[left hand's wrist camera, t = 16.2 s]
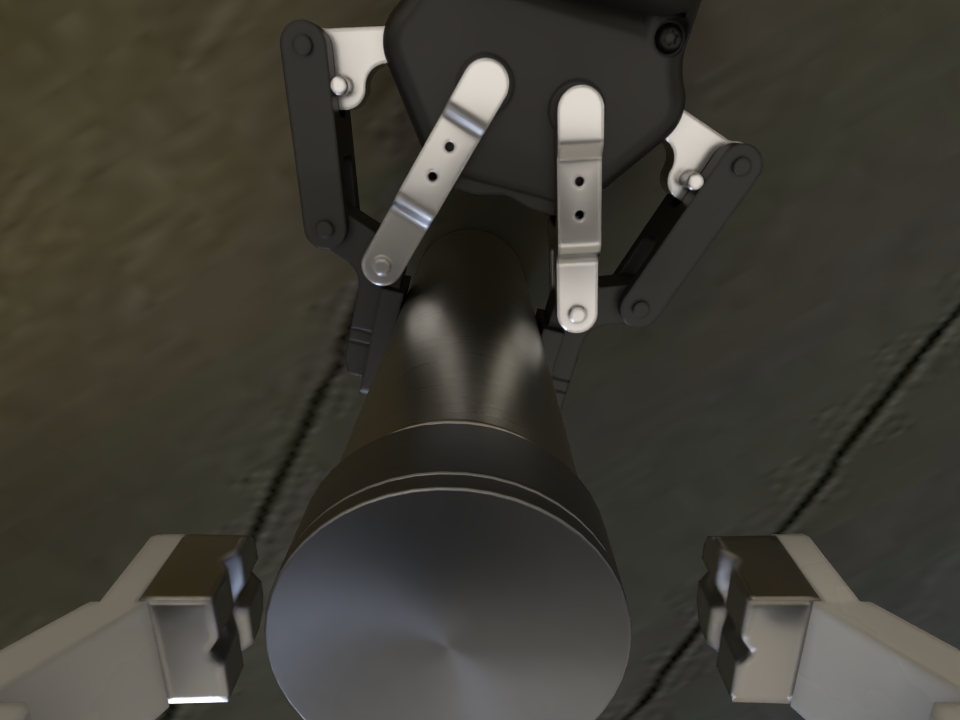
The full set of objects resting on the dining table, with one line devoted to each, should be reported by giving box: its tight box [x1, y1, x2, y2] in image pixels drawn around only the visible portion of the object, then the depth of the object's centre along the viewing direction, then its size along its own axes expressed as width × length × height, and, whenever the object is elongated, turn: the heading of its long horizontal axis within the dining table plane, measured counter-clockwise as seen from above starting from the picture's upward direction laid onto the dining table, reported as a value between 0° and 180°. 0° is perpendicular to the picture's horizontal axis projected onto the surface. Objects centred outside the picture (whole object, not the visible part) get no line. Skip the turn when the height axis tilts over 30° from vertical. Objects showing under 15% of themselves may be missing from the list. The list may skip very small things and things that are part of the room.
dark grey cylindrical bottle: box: [340, 229, 578, 477], centre depth 18 cm, size 4×4×19 cm
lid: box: [265, 423, 631, 720], centre depth 9 cm, size 5×5×2 cm
